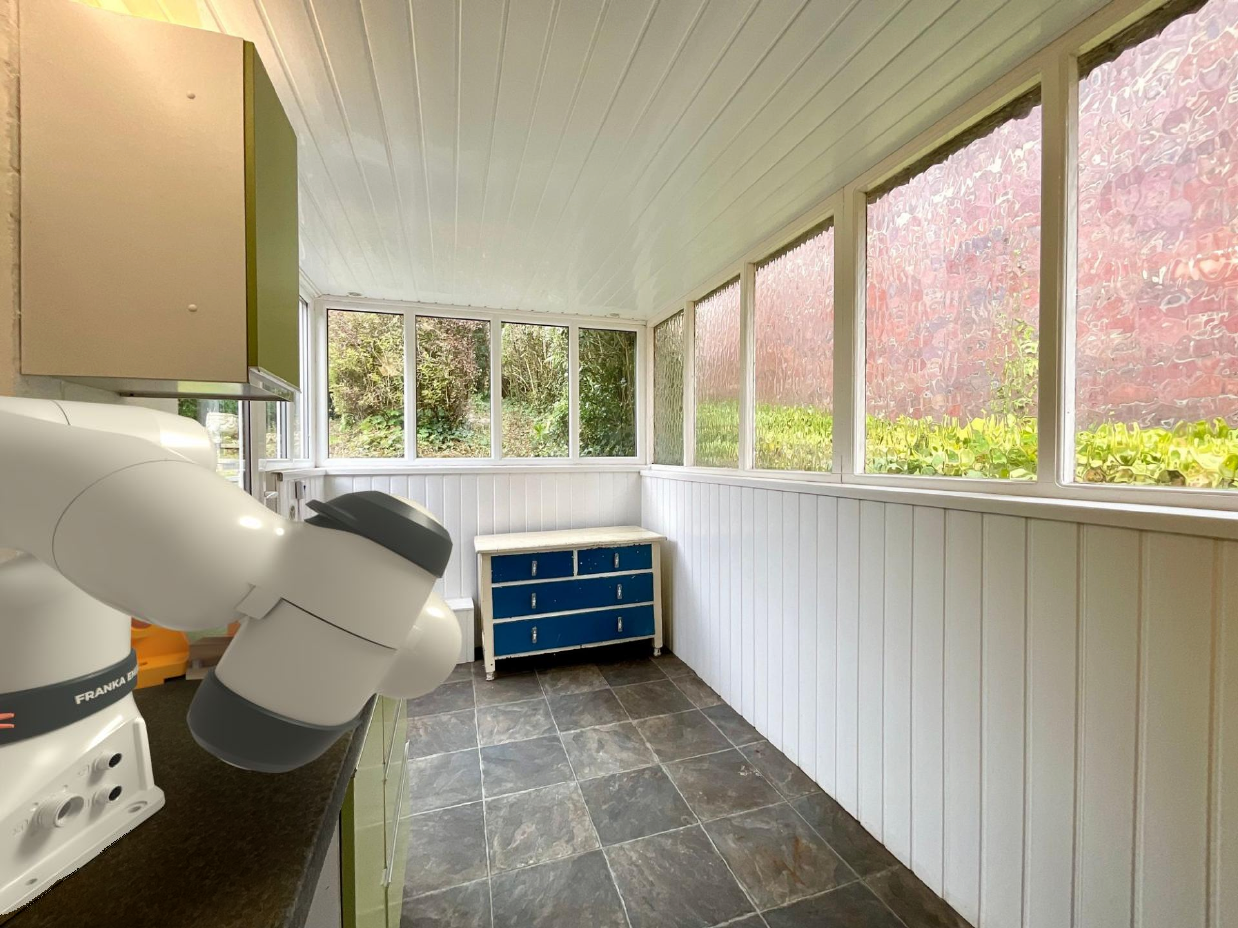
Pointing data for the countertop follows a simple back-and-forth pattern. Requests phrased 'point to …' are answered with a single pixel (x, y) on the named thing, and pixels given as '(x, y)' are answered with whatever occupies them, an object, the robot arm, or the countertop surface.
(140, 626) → the bracket
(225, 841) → the countertop surface
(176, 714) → the countertop surface
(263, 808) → the countertop surface
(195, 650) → the rail board
